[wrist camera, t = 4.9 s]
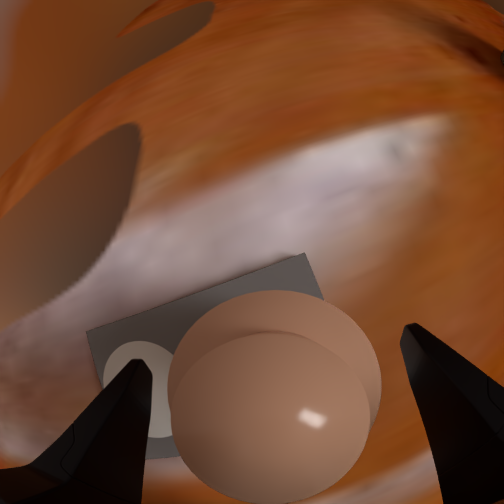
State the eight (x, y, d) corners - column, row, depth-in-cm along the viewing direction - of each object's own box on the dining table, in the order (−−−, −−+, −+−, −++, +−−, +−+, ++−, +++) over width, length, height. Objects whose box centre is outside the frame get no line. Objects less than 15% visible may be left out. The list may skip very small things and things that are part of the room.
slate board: (303, 256, 17) (304, 252, 16) (357, 400, 15) (361, 404, 14) (94, 331, 18) (85, 331, 17) (138, 455, 15) (131, 460, 14)
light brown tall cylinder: (292, 408, 14) (306, 556, 3) (219, 366, 15) (90, 439, 4) (338, 336, 15) (463, 359, 3) (264, 294, 16) (216, 219, 5)
